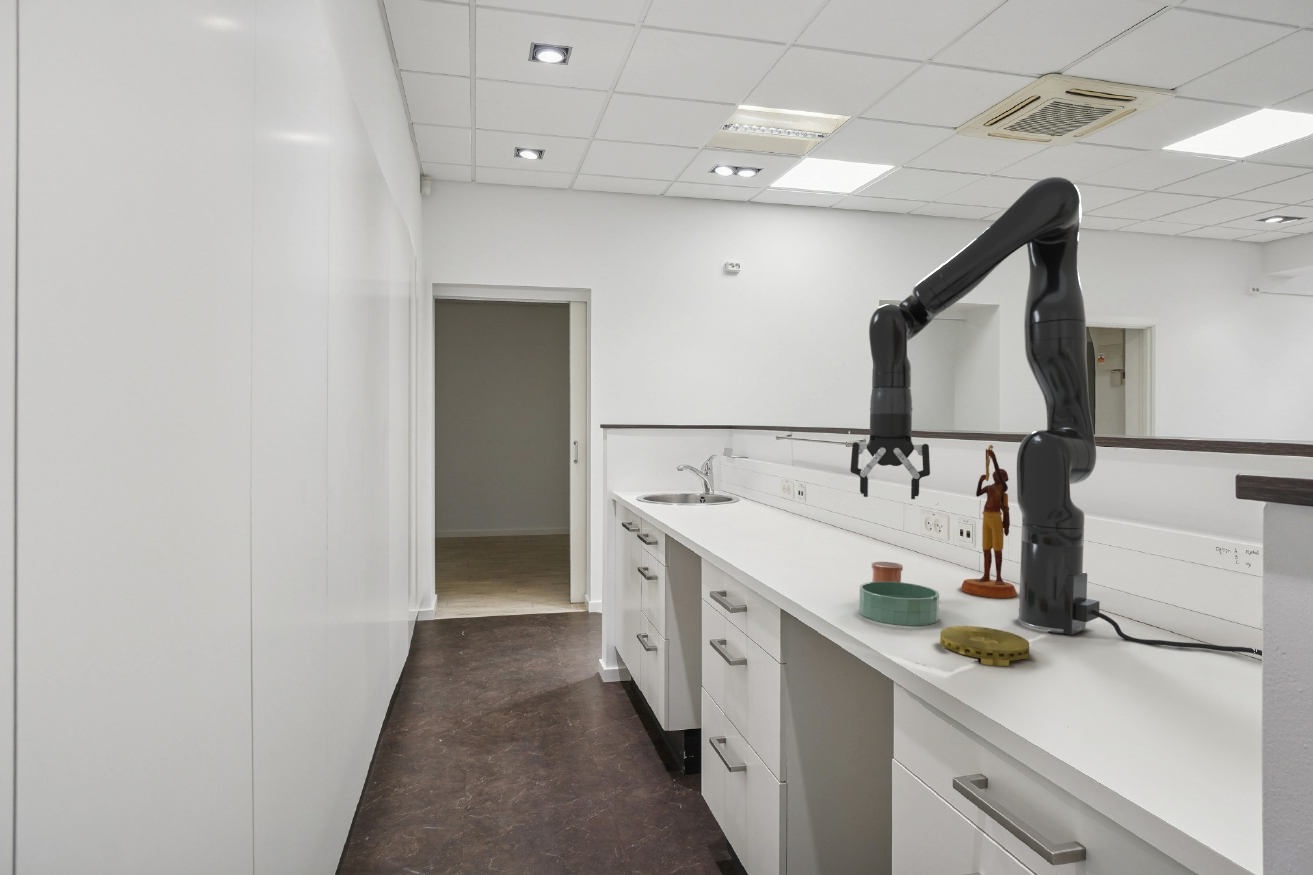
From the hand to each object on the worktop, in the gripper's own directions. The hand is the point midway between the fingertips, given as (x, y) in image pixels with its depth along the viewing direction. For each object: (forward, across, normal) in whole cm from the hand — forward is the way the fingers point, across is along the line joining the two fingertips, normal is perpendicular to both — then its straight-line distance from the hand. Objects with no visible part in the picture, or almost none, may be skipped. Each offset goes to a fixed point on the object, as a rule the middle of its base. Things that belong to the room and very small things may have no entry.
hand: (889, 497), depth 136 cm
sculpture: (+20, +19, +17) cm, 32 cm away
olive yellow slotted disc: (+20, +15, -26) cm, 36 cm away
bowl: (+20, +2, -11) cm, 23 cm away
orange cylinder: (+20, 0, +1) cm, 20 cm away
